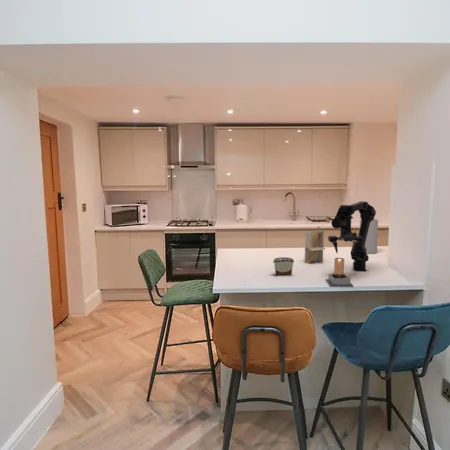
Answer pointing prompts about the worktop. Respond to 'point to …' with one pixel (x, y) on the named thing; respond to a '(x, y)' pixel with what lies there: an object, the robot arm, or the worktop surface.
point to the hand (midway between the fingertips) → (345, 253)
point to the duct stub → (339, 281)
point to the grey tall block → (371, 237)
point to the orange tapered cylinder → (339, 268)
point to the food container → (283, 266)
